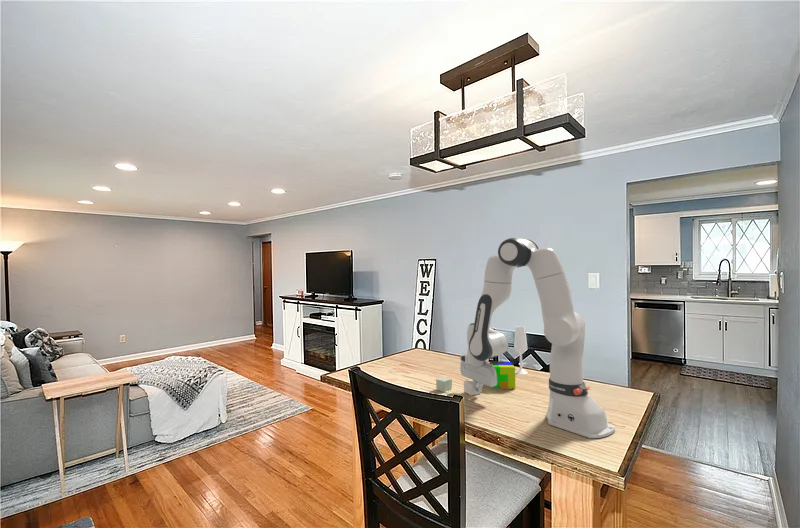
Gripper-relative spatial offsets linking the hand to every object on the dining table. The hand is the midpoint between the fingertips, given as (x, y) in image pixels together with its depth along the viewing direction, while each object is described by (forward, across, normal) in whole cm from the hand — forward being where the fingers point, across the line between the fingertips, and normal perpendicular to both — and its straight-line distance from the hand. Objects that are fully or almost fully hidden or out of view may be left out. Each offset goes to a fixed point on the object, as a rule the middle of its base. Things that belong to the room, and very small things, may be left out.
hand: (478, 391), depth 158 cm
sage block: (+2, +14, +8) cm, 17 cm away
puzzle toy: (+2, +5, -19) cm, 20 cm away
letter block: (+2, +4, 0) cm, 5 cm away
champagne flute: (+2, +15, -42) cm, 45 cm away
